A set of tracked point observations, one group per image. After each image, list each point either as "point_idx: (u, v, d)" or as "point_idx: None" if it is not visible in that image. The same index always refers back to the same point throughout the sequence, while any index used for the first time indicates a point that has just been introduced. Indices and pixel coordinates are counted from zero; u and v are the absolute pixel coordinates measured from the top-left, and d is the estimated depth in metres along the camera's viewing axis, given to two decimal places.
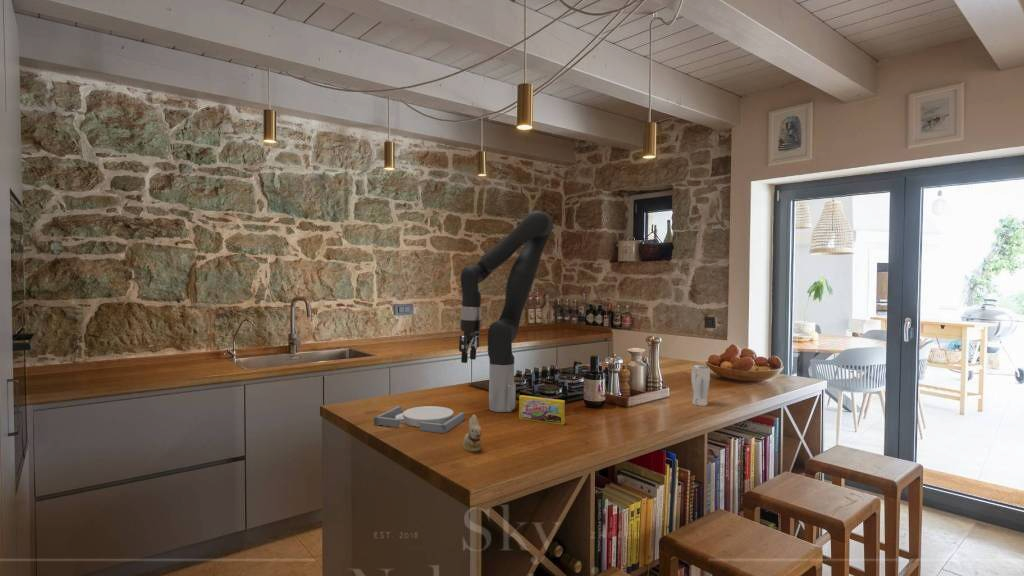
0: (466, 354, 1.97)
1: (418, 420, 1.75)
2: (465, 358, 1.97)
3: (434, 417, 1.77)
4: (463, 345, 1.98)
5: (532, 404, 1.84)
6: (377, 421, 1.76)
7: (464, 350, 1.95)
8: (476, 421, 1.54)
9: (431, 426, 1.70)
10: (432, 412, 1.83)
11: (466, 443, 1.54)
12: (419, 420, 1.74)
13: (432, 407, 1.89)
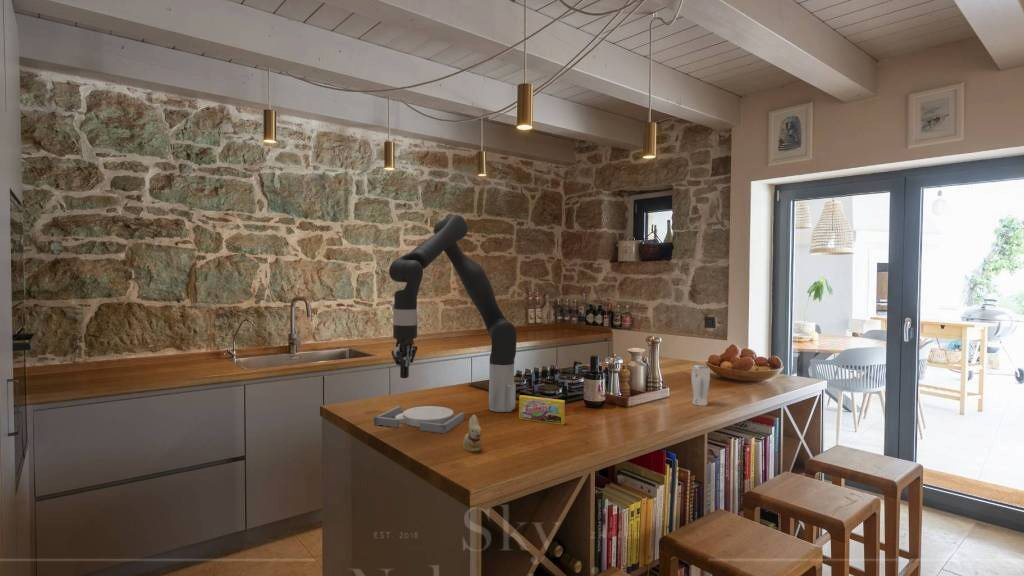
0: (405, 368, 1.68)
1: (418, 420, 1.75)
2: (404, 373, 1.68)
3: (434, 417, 1.77)
4: None
5: (532, 404, 1.84)
6: (377, 421, 1.76)
7: (402, 364, 1.66)
8: (476, 421, 1.54)
9: (431, 426, 1.70)
10: (432, 412, 1.83)
11: (466, 443, 1.54)
12: (419, 420, 1.74)
13: (432, 407, 1.89)
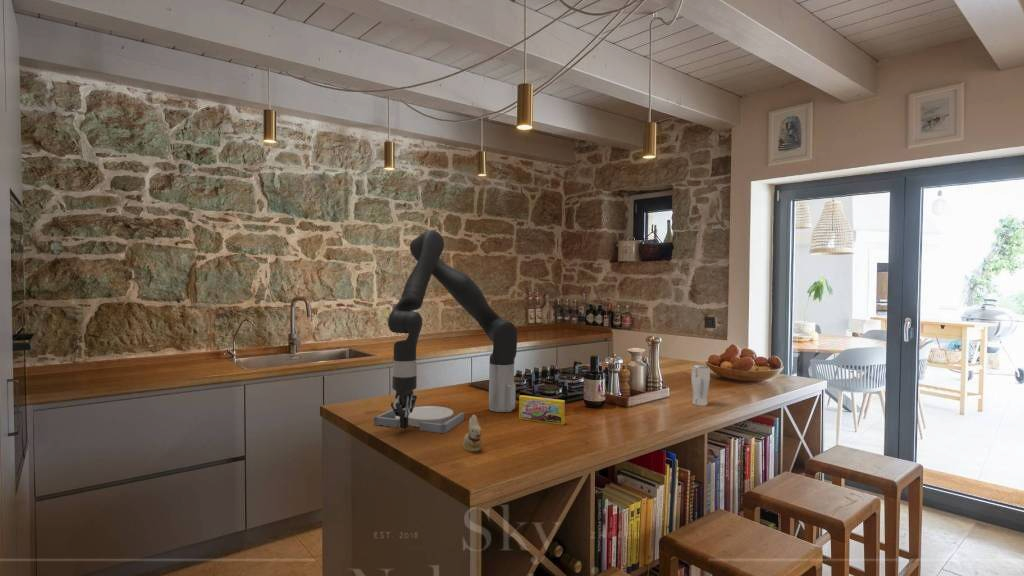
0: (405, 419, 1.68)
1: (418, 420, 1.75)
2: (404, 423, 1.68)
3: (434, 417, 1.77)
4: None
5: (532, 404, 1.84)
6: (377, 421, 1.76)
7: (402, 416, 1.66)
8: (476, 421, 1.54)
9: (431, 426, 1.70)
10: (432, 412, 1.83)
11: (466, 443, 1.54)
12: (419, 420, 1.74)
13: (432, 407, 1.89)
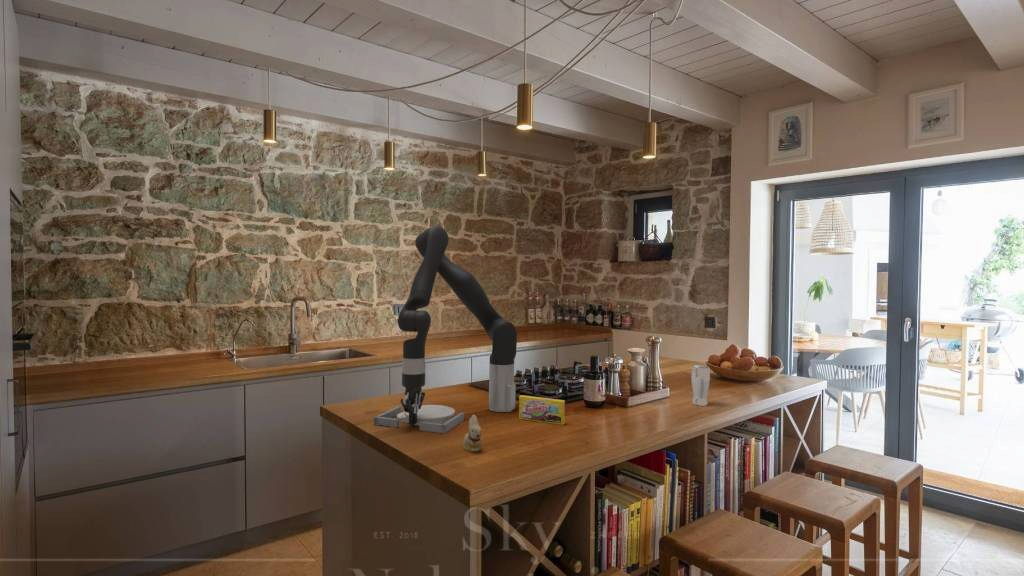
0: (414, 415, 1.73)
1: (420, 419, 1.76)
2: (413, 419, 1.73)
3: (436, 416, 1.78)
4: None
5: (532, 404, 1.84)
6: (377, 421, 1.76)
7: (411, 412, 1.71)
8: (476, 421, 1.54)
9: (431, 426, 1.70)
10: (433, 411, 1.85)
11: (466, 443, 1.54)
12: (421, 419, 1.76)
13: (433, 406, 1.91)
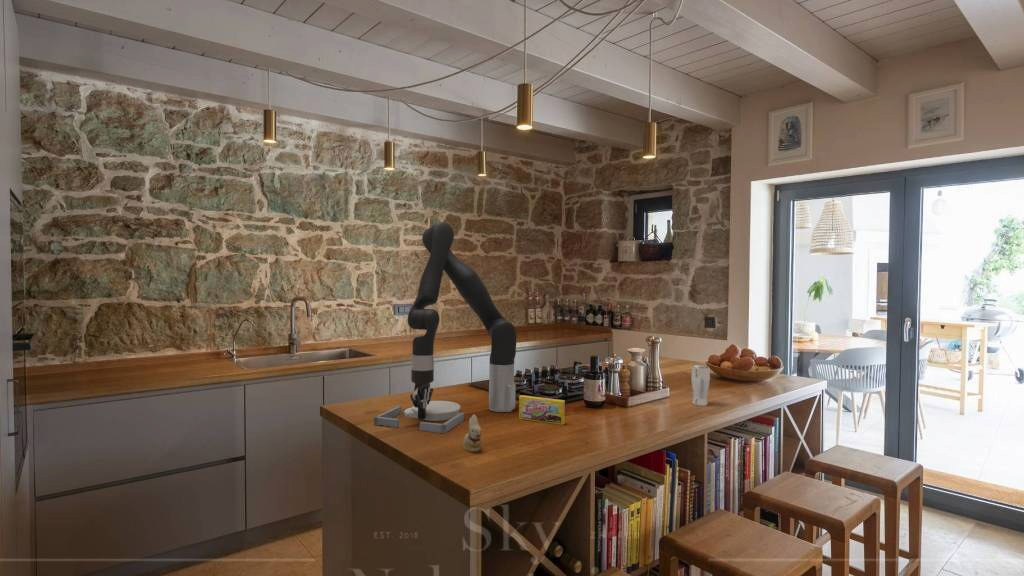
0: (423, 410, 1.80)
1: (429, 414, 1.82)
2: (422, 414, 1.79)
3: (444, 411, 1.84)
4: None
5: (532, 404, 1.84)
6: (377, 421, 1.76)
7: (420, 407, 1.77)
8: (476, 421, 1.54)
9: (431, 426, 1.70)
10: (440, 406, 1.91)
11: (466, 443, 1.54)
12: (430, 414, 1.82)
13: (438, 401, 1.97)
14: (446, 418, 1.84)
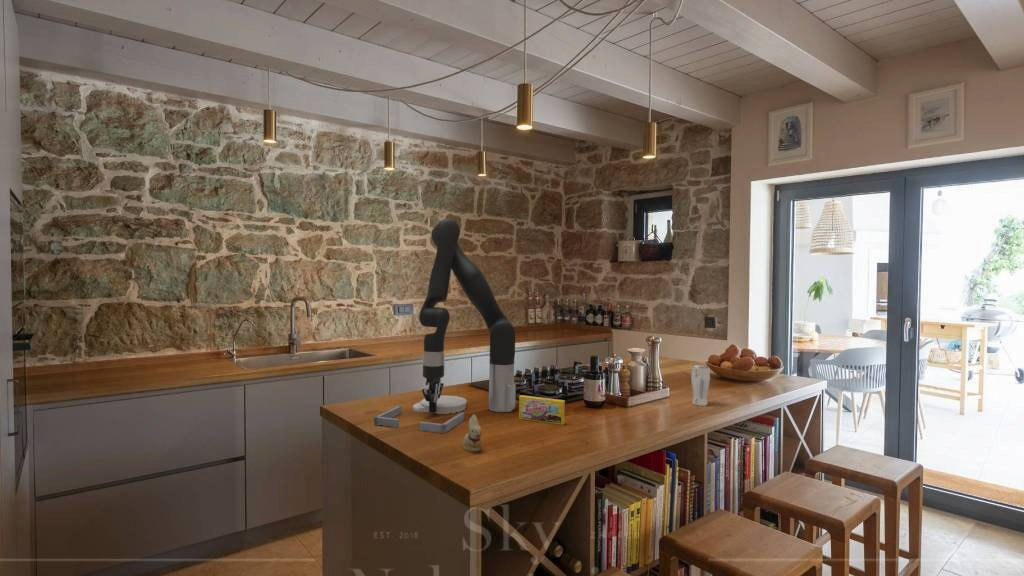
0: (434, 403, 1.88)
1: (441, 408, 1.91)
2: (433, 408, 1.88)
3: (454, 404, 1.94)
4: None
5: (532, 404, 1.84)
6: (377, 421, 1.76)
7: (431, 401, 1.86)
8: (476, 421, 1.54)
9: (431, 426, 1.70)
10: (447, 400, 2.00)
11: (466, 443, 1.54)
12: (442, 408, 1.91)
13: (442, 396, 2.06)
14: (457, 411, 1.93)
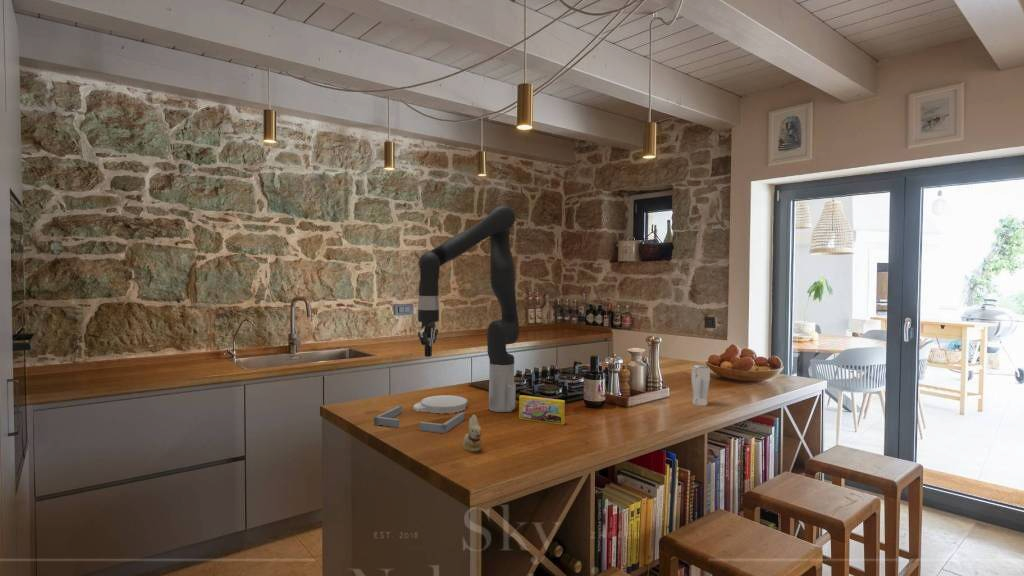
0: (429, 347, 1.91)
1: (441, 407, 1.91)
2: (428, 352, 1.91)
3: (454, 404, 1.94)
4: None
5: (532, 404, 1.84)
6: (377, 421, 1.76)
7: (427, 344, 1.89)
8: (476, 421, 1.54)
9: (431, 426, 1.70)
10: (447, 400, 2.00)
11: (466, 443, 1.54)
12: (443, 408, 1.91)
13: (443, 396, 2.06)
14: (457, 411, 1.94)
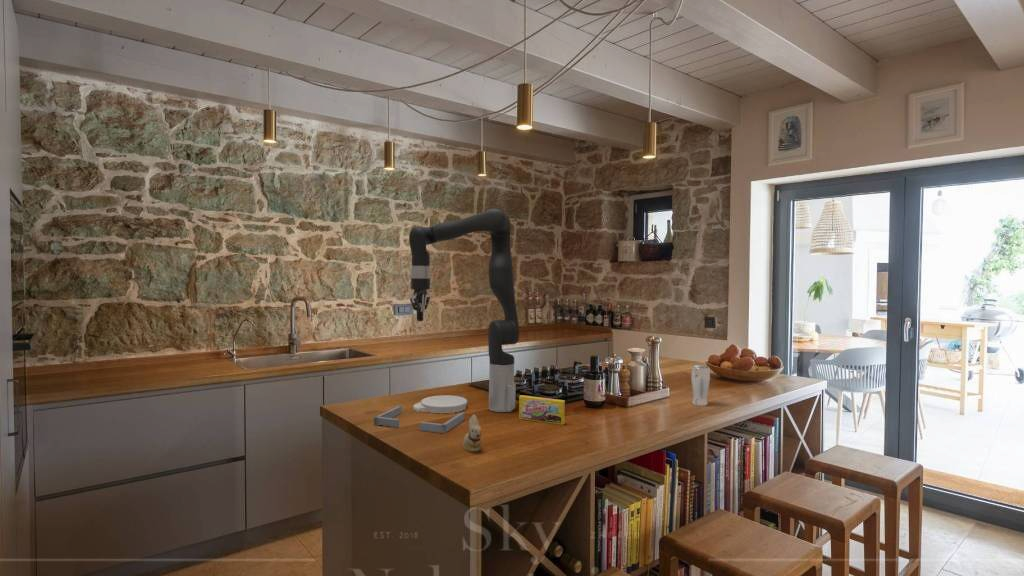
0: (421, 313, 2.11)
1: (441, 407, 1.91)
2: (420, 316, 2.11)
3: (454, 404, 1.94)
4: None
5: (532, 404, 1.84)
6: (377, 421, 1.76)
7: (418, 309, 2.09)
8: (476, 421, 1.54)
9: (431, 426, 1.70)
10: (447, 400, 2.00)
11: (466, 443, 1.54)
12: (443, 408, 1.91)
13: (443, 396, 2.06)
14: (457, 411, 1.94)
